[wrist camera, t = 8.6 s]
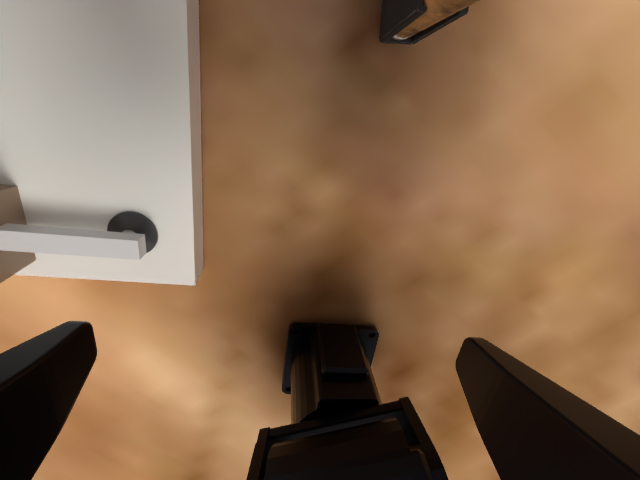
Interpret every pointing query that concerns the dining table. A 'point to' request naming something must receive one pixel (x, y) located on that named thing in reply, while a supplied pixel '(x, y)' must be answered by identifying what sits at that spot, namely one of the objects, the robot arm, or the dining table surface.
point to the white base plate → (101, 140)
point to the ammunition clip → (418, 18)
